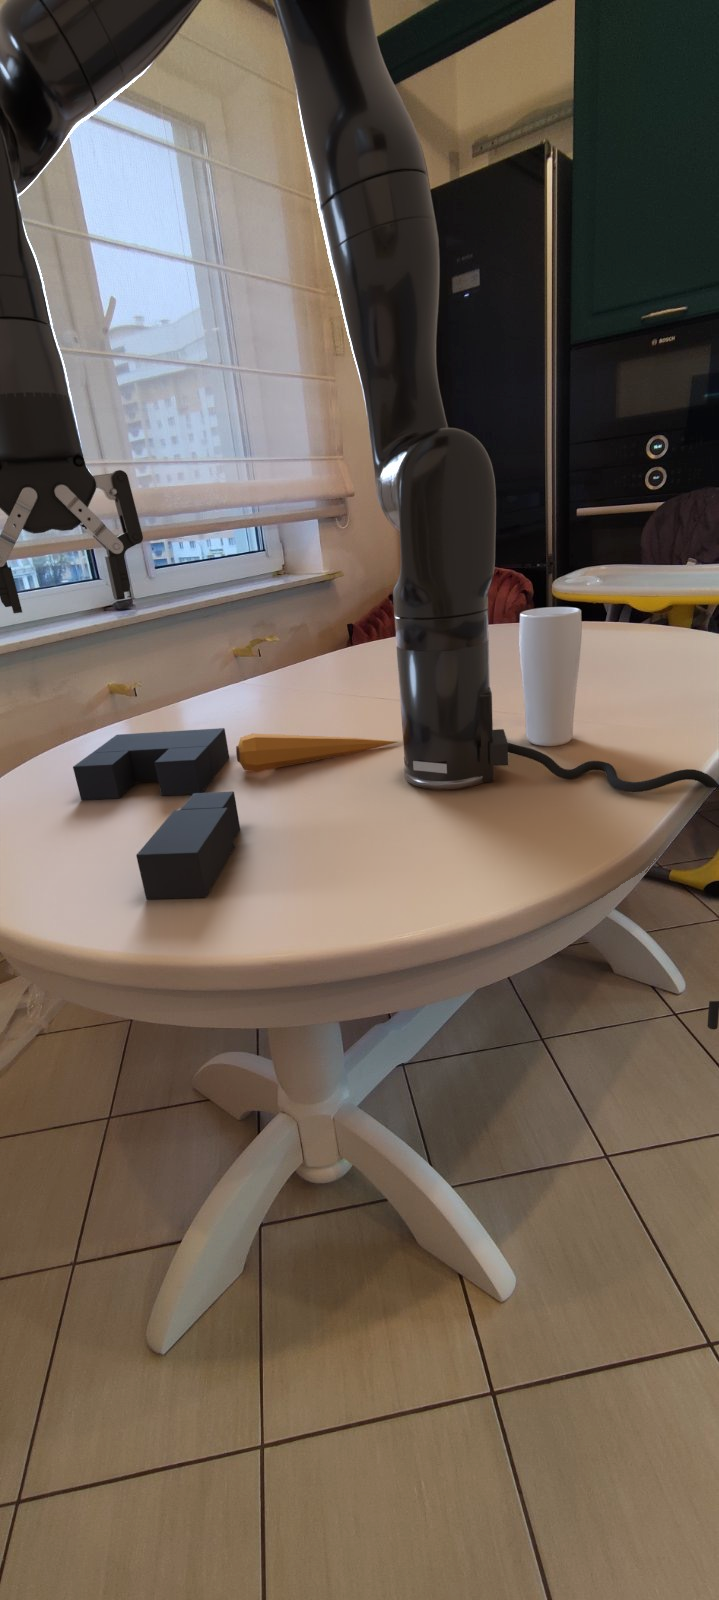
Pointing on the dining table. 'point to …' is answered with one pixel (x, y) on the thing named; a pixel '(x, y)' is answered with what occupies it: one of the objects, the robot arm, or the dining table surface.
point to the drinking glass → (550, 672)
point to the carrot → (296, 749)
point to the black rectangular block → (190, 847)
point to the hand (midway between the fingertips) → (70, 605)
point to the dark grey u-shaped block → (153, 763)
